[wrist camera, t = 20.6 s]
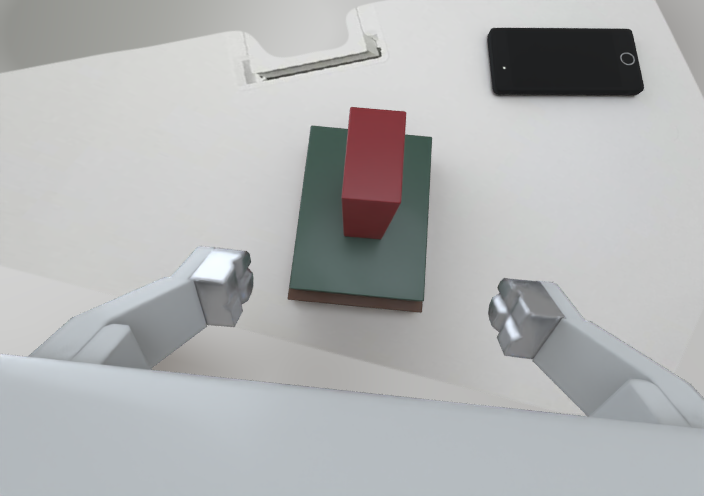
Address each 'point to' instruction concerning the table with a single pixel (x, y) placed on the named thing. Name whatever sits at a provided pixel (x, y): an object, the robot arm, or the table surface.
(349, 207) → the upright red rectangular block
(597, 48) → the cell phone
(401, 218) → the book pile
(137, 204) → the table surface
